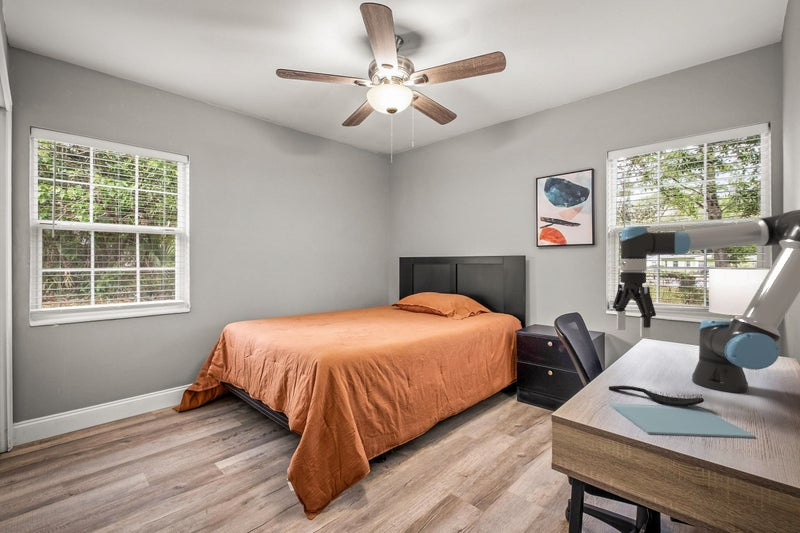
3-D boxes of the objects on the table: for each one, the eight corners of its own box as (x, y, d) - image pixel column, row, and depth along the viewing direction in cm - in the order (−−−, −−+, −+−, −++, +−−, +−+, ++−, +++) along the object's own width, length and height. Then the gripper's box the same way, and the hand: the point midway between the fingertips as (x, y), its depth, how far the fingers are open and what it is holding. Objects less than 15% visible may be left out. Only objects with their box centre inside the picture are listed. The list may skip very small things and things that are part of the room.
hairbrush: (612, 378, 129) (705, 393, 112) (612, 389, 129) (705, 405, 112) (605, 382, 123) (702, 398, 106) (605, 394, 123) (702, 411, 106)
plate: (694, 407, 112) (694, 404, 112) (755, 439, 92) (755, 435, 92) (606, 404, 113) (606, 401, 113) (647, 435, 93) (647, 431, 93)
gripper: (603, 270, 141) (602, 326, 141) (645, 272, 116) (644, 340, 116) (623, 270, 141) (622, 326, 141) (670, 272, 116) (668, 341, 116)
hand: (632, 333), depth 128 cm, fingers open, 13 cm apart
